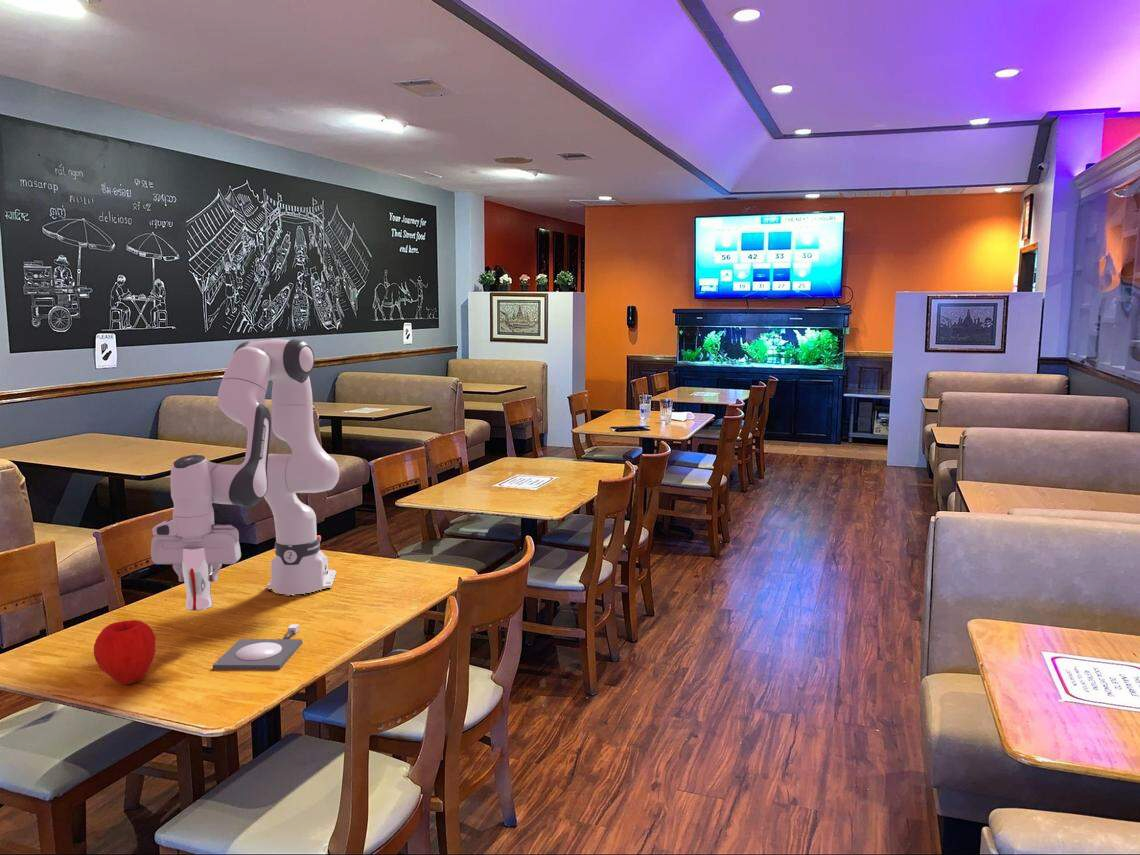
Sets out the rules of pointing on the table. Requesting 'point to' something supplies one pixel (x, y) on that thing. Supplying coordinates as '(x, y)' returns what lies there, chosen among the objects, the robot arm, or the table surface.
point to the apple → (125, 650)
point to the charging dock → (260, 652)
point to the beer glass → (196, 579)
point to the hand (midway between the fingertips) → (198, 581)
